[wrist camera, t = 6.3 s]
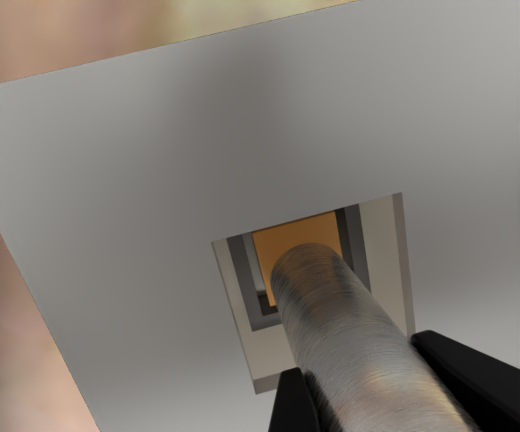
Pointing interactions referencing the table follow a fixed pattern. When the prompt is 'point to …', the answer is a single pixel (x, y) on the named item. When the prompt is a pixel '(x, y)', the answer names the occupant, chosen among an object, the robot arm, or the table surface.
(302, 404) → the robot arm
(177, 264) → the grey square-hole box
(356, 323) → the shiny metal cylinder
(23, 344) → the table surface
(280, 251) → the button
